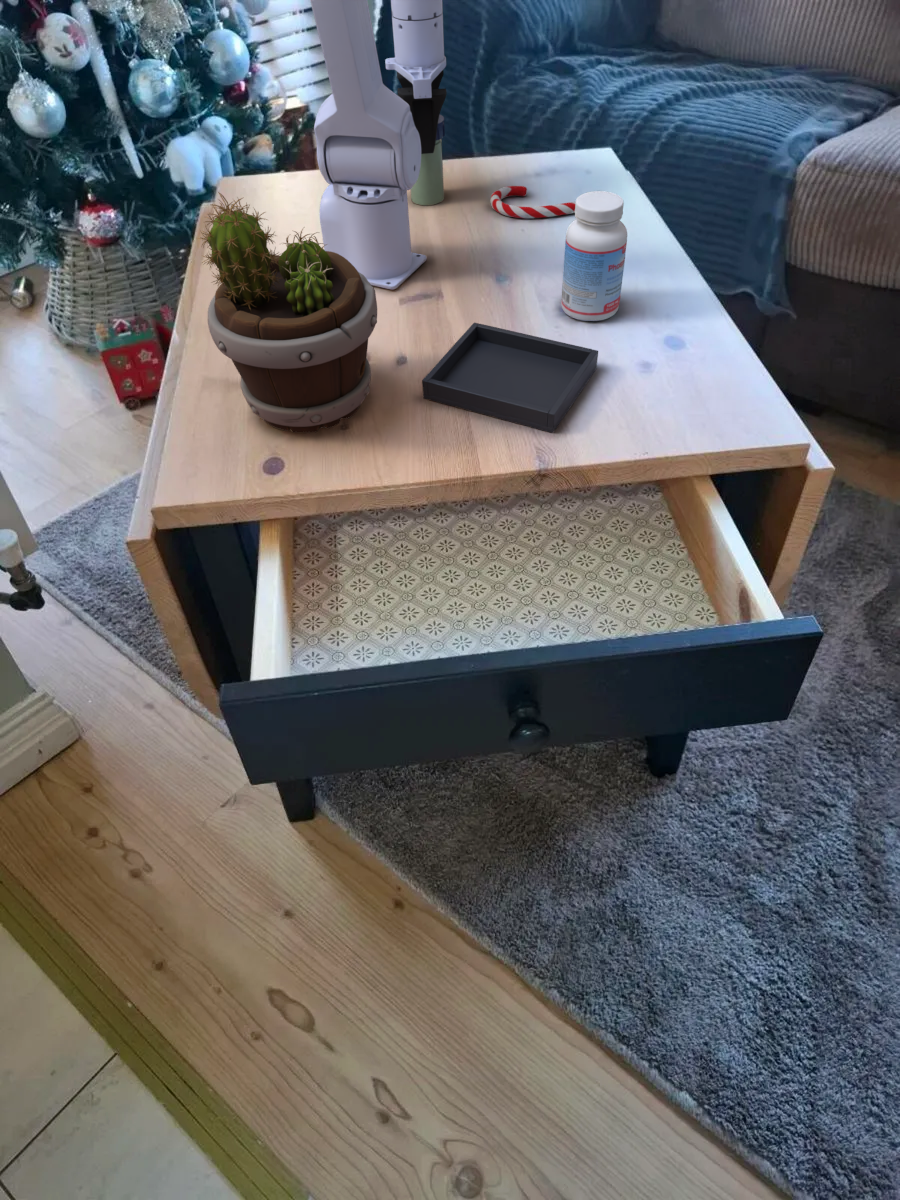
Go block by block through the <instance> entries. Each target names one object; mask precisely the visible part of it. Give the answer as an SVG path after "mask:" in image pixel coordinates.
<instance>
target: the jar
mask: <svg viewBox="0 0 900 1200" xmlns="http://www.w3.org/2000/svg"><path fill="white" fill-rule="evenodd" d="M443 161H444V160H443V140H442V138H441V139H440V140H437V141H436V143H435V149H434V153H428V154H421V166H420V172H419V176H418V179H417V181H416V183H415V184H414V185H413V187H412V188H411V189H410V190H409V191H410V200H411V202H412V203H414V204H415V205H419V206H433V205H437V204H440V203H441V202H443V201H444V199H445V192H444V191H445V187H444V184H445V183H444V163H443Z"/></svg>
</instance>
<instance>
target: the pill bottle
mask: <svg viewBox="0 0 900 1200" xmlns="http://www.w3.org/2000/svg"><path fill="white" fill-rule="evenodd" d="M575 201H576V205H575V213H574V217H575V219H574V220H573V221H572V222H570V224H569V225H568V227H567V229H566V231H565V232H566V233H565V241H564V242H565V243H564V256H563V268H562V269H563V271H562V284H561V288H562V289H561V300H560V301H561V303H560V305H561V309H562V311H563V312H564V313H565V314H566V315H567V316H568V317H570V318H572V319H575V320H578V321H585V322H586V321H587V322H588V321H589V322H598V321H605V320H607V319H610V318H612V317H613V316H614V315H615V314H616V313H617V312H618V310H619V308H620V303H621V297H622V296H621V294H622V286H623V278H624V270H625V263H626V262H625V261H626V253H627V243H628V229H627V227H626V225H625V224H624V223H623V221H621V220H622V218H623V215H624V204H625V202H624V199H623V197H622V196H620V195H619V194H617V193H615V192H610V191H605V190H603V191H602V190H594V191H588V192H584V193H582V194H580V195H578V196H577V198H576V199H575Z"/></svg>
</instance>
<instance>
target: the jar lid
mask: <svg viewBox="0 0 900 1200" xmlns="http://www.w3.org/2000/svg"><path fill="white" fill-rule="evenodd" d="M445 128H446V127H445V117H444V115H442V114H440V115H439V119H438V126H437V135H436V141H437V140H440V139H441V140H442V139H443V138H444V137H445V135H446V130H445Z"/></svg>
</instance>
